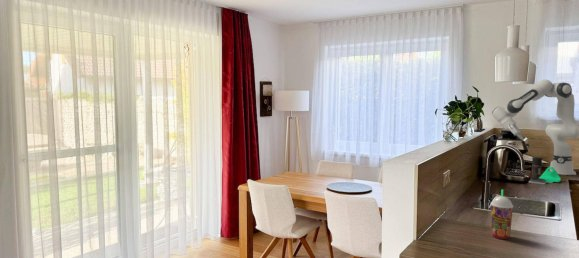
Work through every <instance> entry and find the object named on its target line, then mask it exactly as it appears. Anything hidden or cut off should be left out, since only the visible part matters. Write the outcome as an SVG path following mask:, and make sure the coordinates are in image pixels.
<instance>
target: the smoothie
mask: <svg viewBox="0 0 579 258" xmlns="http://www.w3.org/2000/svg"><path fill="white" fill-rule="evenodd" d="M500 192H501V193H500V195H498V196H496V197H494V198H493V199H492V200H491V202H490V224H491V225H490V226H491V227H490V228H491V230H490V231H491V234H492V236H493V237H494V238H496V239H499V240H500V239H501V240H505V239H506V240H507V239H509V236H511V231H512V230H511V229H512V220H513V210H514V205H513V203H512V201H511V199H509V197H506V196H504V189H501V191H500Z"/></svg>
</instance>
